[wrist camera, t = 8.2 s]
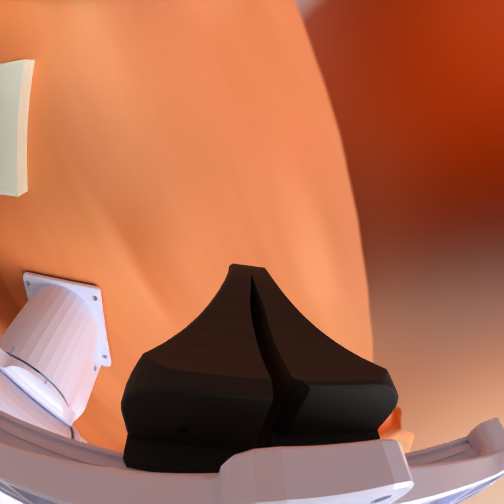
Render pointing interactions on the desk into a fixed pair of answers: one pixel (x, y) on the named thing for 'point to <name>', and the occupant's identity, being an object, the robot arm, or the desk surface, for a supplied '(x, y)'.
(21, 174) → the panel
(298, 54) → the desk surface
